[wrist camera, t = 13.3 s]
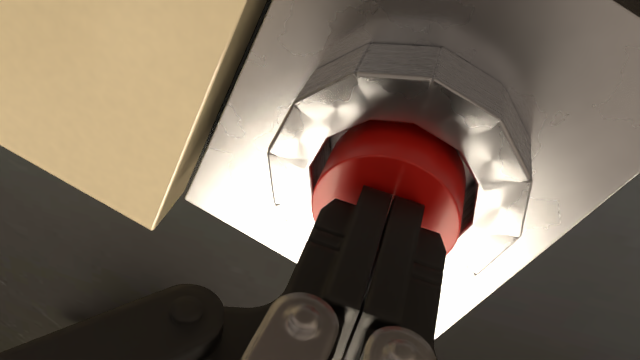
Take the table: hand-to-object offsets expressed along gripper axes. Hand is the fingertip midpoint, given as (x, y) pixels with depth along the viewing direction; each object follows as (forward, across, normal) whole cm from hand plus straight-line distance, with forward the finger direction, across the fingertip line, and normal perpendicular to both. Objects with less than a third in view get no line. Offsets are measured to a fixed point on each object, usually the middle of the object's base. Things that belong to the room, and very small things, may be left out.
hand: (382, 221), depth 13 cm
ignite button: (+2, 0, 0) cm, 2 cm away
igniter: (+5, 0, 0) cm, 5 cm away
